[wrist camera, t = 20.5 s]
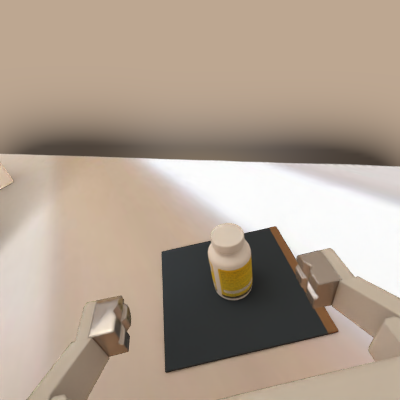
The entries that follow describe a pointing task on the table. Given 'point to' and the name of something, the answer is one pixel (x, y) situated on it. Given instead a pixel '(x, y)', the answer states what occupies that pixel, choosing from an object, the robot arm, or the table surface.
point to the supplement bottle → (230, 262)
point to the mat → (235, 305)
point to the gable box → (4, 177)
